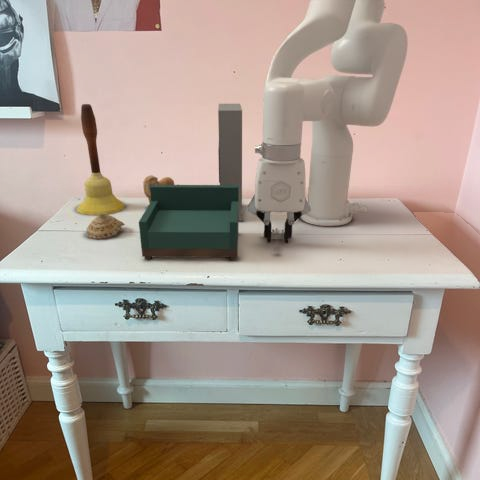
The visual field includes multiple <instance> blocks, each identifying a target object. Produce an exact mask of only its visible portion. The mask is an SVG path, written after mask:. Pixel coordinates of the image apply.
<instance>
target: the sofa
mask: <svg viewBox="0 0 480 480" xmlns="http://www.w3.org/2000/svg"><path fill="white" fill-rule="evenodd" d="M150 194H151V202H150V203H149V204H148V205H147V207H146V209H145V211H144V212H143V213H142V216H141V217H140V219H139V221H138V228H139V237H140V238H139V239H140V248H141V256H142V257H143V258H144V260H146V261H150V260H153V258H157V257H159V258H228V260H229V261H236V260H237V259H238V253H239V252H238V251H239V229H240V228H239V223H240V221H239V185H220V184H174V185H151V186H150Z"/></svg>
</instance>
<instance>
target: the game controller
mask: <svg viewBox="0 0 480 480" xmlns="http://www.w3.org/2000/svg"><path fill="white" fill-rule="evenodd" d="M284 230H285V229H282V230H279V229H278V227H276V228H275V229H274V228H271V240H276V246H277V247H276V249H277V256H279V240H284Z"/></svg>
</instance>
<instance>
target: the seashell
mask: <svg viewBox="0 0 480 480" xmlns="http://www.w3.org/2000/svg"><path fill="white" fill-rule="evenodd" d="M125 225H126V224H125V223H124V222H123V221H121V220H119V219H117V218H116V217H114V216H113V215H110V214H101V215H96V217H94V219H92V221H91V222H90V223H89V225H88V226H87V227H86V231H85V233H86V236H87V237H88V238H90V239H95V240H101V239H106V238H107V239H108V238H111V237H112V236H115V235H116V234H118V233H119V232H120V231H121V228H122V227H124V226H125Z"/></svg>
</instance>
